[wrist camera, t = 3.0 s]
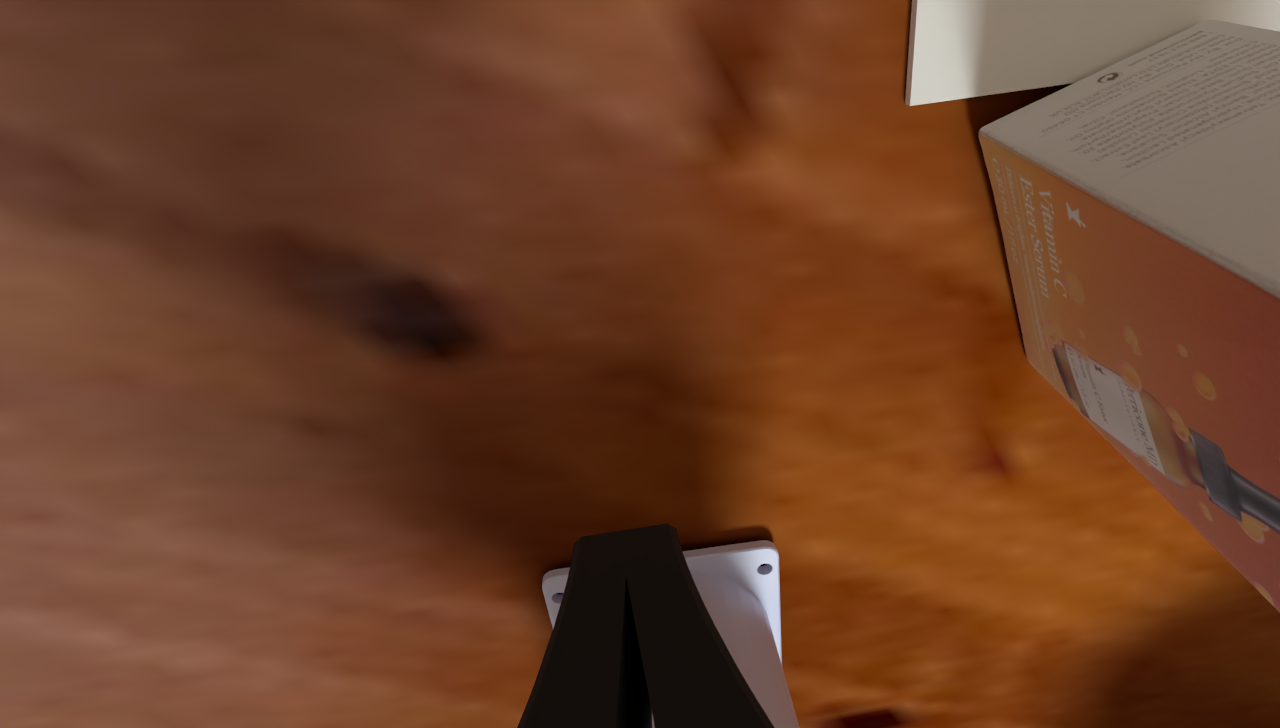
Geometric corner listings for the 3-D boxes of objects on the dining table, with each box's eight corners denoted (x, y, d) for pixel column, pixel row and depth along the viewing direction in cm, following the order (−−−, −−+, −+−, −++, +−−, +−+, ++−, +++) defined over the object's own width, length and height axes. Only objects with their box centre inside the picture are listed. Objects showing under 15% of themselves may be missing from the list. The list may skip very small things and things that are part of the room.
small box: (970, 124, 17) (1384, 342, 8) (1208, 11, 16) (1956, 125, 8) (1022, 367, 21) (1339, 687, 13) (1215, 289, 20) (1707, 575, 12)
